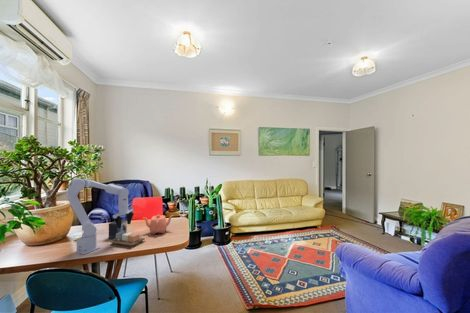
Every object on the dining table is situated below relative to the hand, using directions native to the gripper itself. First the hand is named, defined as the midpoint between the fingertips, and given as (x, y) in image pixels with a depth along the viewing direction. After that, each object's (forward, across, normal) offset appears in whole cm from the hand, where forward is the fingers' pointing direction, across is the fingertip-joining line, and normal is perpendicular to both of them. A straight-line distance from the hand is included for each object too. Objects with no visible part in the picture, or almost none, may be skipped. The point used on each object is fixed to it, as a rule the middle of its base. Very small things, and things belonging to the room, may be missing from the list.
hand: (124, 225), depth 139 cm
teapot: (+11, +21, -10) cm, 25 cm away
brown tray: (+10, -2, -5) cm, 11 cm away
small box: (+10, +5, +12) cm, 16 cm away
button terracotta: (+8, -2, -11) cm, 13 cm away
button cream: (+8, -2, -5) cm, 9 cm away
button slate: (+7, -2, 0) cm, 8 cm away
